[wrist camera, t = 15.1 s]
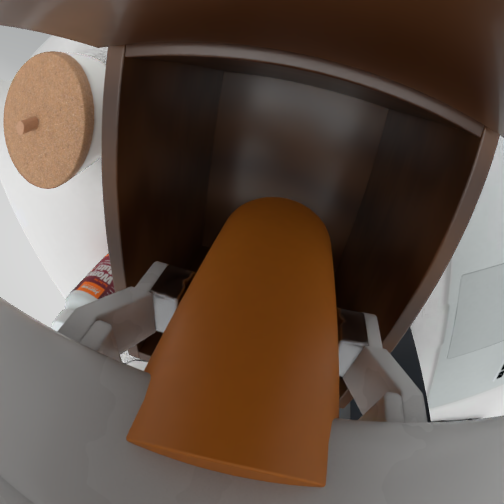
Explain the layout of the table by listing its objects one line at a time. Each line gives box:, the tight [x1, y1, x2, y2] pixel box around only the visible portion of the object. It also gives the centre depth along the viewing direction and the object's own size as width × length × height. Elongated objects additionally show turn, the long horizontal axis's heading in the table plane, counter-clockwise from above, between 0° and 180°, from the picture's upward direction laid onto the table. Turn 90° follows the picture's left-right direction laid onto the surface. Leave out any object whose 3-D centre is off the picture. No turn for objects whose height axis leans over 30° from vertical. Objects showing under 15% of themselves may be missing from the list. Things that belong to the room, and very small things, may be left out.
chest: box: [101, 42, 500, 409], centre depth 16 cm, size 17×14×13 cm
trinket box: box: [4, 52, 106, 189], centre depth 17 cm, size 11×11×9 cm
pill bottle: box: [52, 253, 115, 331], centre depth 26 cm, size 6×6×11 cm
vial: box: [126, 197, 339, 487], centre depth 9 cm, size 5×5×10 cm
